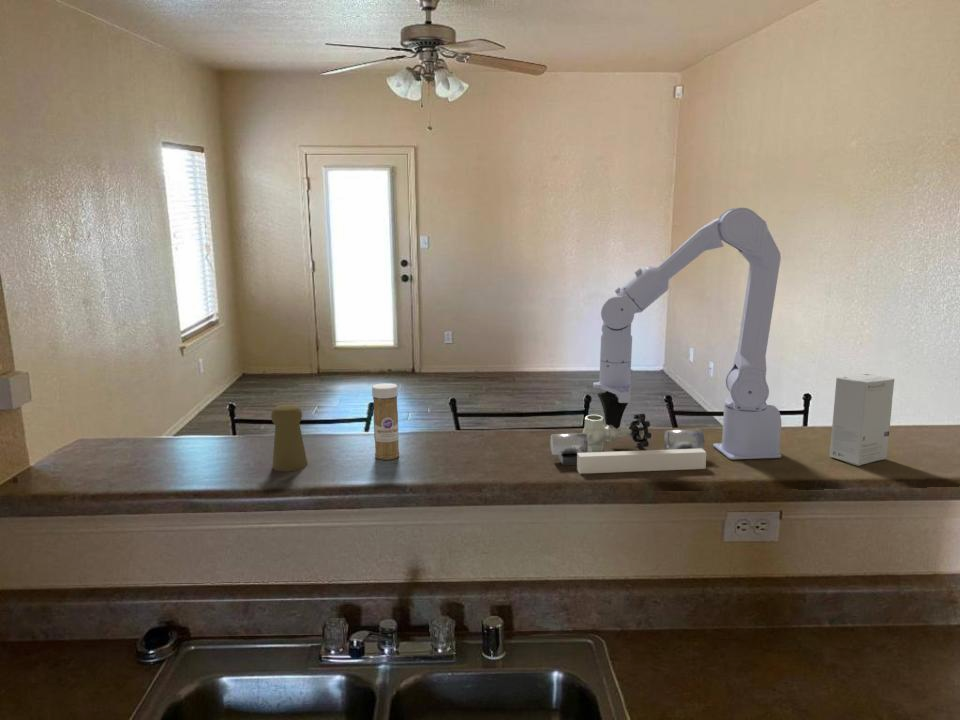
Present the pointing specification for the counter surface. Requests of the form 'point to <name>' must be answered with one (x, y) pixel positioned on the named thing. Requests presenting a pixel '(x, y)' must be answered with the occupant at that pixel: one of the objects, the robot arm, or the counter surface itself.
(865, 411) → the skincare box
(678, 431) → the pipe stubs
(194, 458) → the counter surface
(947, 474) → the counter surface
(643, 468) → the bar
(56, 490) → the counter surface
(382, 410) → the sprinkles bottle
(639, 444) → the valve
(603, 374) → the robot arm
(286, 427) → the cork
